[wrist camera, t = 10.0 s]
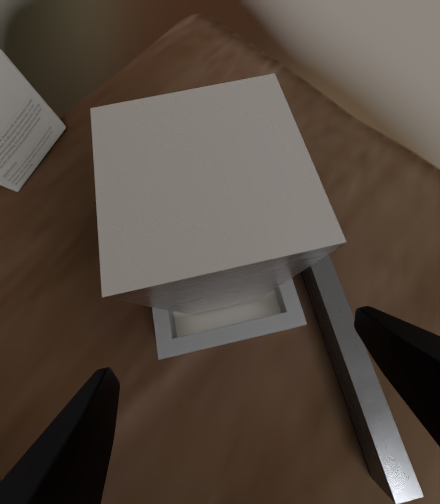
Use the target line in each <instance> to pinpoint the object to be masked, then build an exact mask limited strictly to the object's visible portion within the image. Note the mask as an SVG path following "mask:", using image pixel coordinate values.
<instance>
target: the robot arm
mask: <svg viewBox="0 0 440 504" xmlns="http://www.w3.org/2000/svg"><path fill="white" fill-rule="evenodd" d="M354 328H355V330H356V332H357V334H358V335H359V337H360V338H361V340H362V342H363V343H364V345H365V346H366V348H367V349H368V351H369V353H370V354H371V356H372V357H373V359H374V360H375V362H376V364H377V365H378V367H379V368H380V370H381V371H382V372H383V374H384V375H385V376H386V378H387V379H388V380H389V382H390V383H391V384H392V386H393V387H394V388H395V390H396V391H397V392H398V393H399V395H400V396H401V397H402V399H403V400H404V401H405V402H406V404H407V405H408V406H409V408H410V409H411V410H412V412H413V413H414V414H415V415H416V417H417V418H418V419H419V421H420V422H421V423H422V425H423V426H424V427H425V428H426V430H427V431H428V432H429V434H430V435H431V436H432V438H433V439H434V440H435V441H436V443H437V444H438V445H439V447H440V336H438V335H436V334H434V333H431V332H429V331H426V330H424V329H422V328H419V327H417V326H415V325H412V324H410V323H408V322H405V321H403V320H401V319H398V318H396V317H394V316H391V315H389V314H387V313H384V312H382V311H380V310H377V309H375V308H373V307H370V306H364V307H360V308H357V309H356V312H355V319H354ZM119 390H120V384H119V381H118V379H117V377H116V376H115V374H114V372H113V371H112V369H111V368H109V367H107V368H102V369H99V370H97V371H95V372H94V374H93V375H92V376H91V377H90V378H89V379H88V381H87V382H86V383H85V384H84V385H83V386H82V388H81V389H80V390H79V391H78V392H77V393H76V395H75V396H74V397H73V398H72V399H71V400H70V402H69V403H68V404H67V405H66V406H65V407H64V409H63V410H62V411H61V412H60V413H59V414H58V416H57V417H56V418H55V419H54V420H53V421H52V423H51V424H50V425H49V426H48V427H47V428H46V430H45V431H44V432H43V433H42V434H41V435H40V437H39V438H38V439H37V440H36V441H35V442H34V444H33V445H32V446H31V447H30V448H29V449H28V451H27V452H26V453H25V454H24V455H23V456H22V458H21V459H20V460H19V461H18V462H17V463H16V465H15V466H14V467H13V468H12V469H11V470H10V472H9V473H8V474H7V475H6V476H5V477H4V479H3V480H2V481H1V482H0V504H101V499H102V494H103V489H104V485H105V480H106V475H107V470H108V465H109V460H110V456H111V451H112V446H113V440H114V434H115V426H116V417H117V408H118V399H119Z"/></svg>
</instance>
